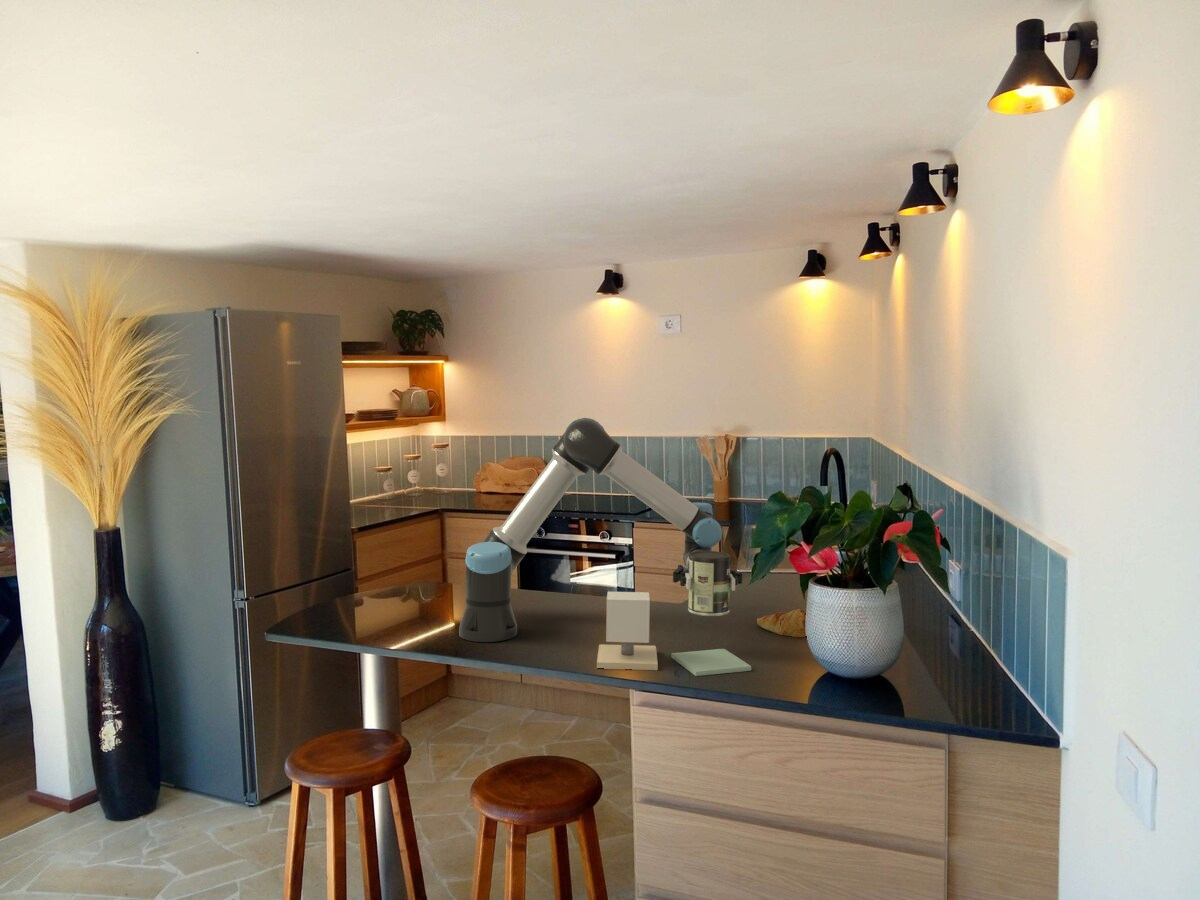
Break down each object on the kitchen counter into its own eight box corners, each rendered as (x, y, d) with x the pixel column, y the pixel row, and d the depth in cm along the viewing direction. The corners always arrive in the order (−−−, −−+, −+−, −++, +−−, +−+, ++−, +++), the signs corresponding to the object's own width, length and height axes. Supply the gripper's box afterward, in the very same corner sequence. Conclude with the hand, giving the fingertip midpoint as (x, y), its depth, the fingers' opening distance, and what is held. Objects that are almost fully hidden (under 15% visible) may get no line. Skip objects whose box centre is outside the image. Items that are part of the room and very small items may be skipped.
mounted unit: (596, 668, 191) (597, 602, 190) (599, 650, 205) (599, 588, 204) (657, 670, 190) (658, 603, 189) (655, 651, 204) (656, 589, 203)
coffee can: (726, 606, 209) (727, 550, 208) (732, 616, 199) (734, 558, 198) (685, 605, 209) (686, 550, 208) (689, 616, 199) (691, 558, 198)
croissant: (753, 642, 226) (748, 619, 222) (763, 617, 233) (759, 595, 230) (831, 653, 215) (828, 629, 212) (839, 627, 223) (836, 604, 219)
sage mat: (695, 676, 187) (695, 671, 187) (671, 657, 200) (671, 653, 200) (751, 670, 191) (751, 666, 191) (724, 652, 204) (724, 648, 204)
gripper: (743, 580, 222) (757, 601, 199) (659, 579, 222) (664, 599, 200) (744, 552, 221) (758, 570, 199) (659, 551, 221) (664, 568, 199)
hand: (711, 584), depth 199 cm, fingers closed on coffee can, 10 cm apart
